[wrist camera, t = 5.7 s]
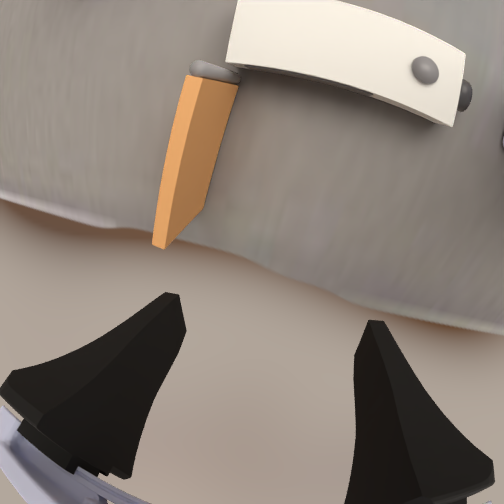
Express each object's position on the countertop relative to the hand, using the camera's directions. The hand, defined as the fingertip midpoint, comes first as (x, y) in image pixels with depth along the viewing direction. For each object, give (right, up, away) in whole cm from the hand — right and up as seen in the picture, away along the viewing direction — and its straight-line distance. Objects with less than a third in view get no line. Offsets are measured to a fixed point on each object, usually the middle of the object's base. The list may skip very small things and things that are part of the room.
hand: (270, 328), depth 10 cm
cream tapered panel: (+5, +15, +2) cm, 16 cm away
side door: (-3, +10, +7) cm, 12 cm away
